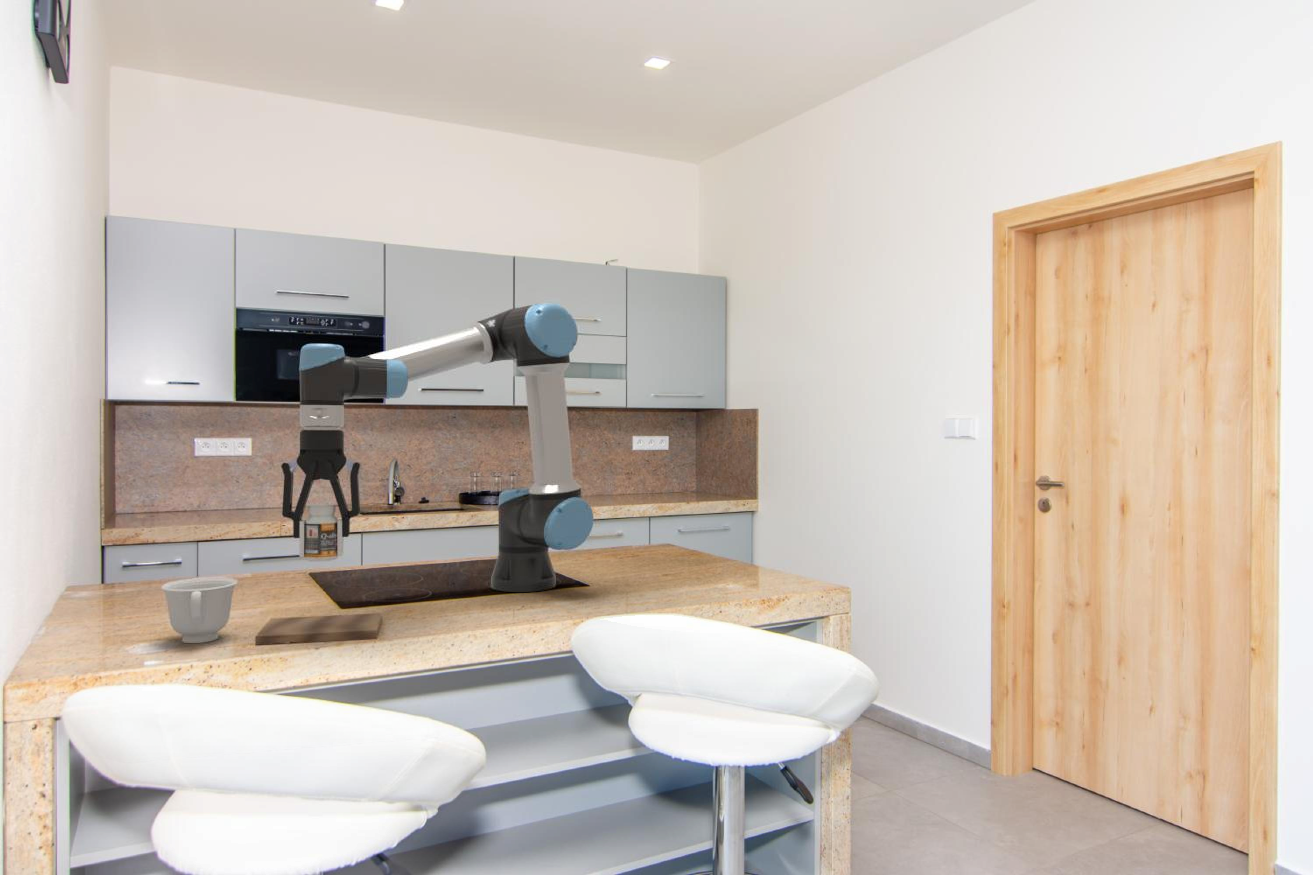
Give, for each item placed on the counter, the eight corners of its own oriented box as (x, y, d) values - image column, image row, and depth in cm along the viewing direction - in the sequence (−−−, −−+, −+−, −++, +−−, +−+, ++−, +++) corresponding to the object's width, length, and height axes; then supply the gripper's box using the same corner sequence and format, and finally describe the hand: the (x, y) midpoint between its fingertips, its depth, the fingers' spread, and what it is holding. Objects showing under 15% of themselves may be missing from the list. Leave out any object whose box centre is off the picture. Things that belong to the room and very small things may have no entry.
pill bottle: (326, 562, 154) (326, 507, 154) (298, 561, 155) (298, 506, 155) (344, 557, 160) (344, 504, 159) (316, 556, 161) (316, 503, 161)
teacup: (154, 655, 142) (154, 595, 141) (165, 634, 155) (165, 579, 155) (235, 648, 146) (235, 589, 146) (239, 628, 160) (239, 575, 160)
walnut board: (381, 620, 167) (381, 613, 167) (376, 638, 153) (376, 630, 153) (270, 626, 162) (270, 618, 162) (255, 645, 148) (255, 636, 148)
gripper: (262, 428, 151) (262, 560, 151) (374, 429, 156) (373, 556, 156) (270, 428, 158) (270, 553, 159) (377, 429, 163) (376, 550, 163)
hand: (321, 555), depth 157 cm, fingers closed on pill bottle, 6 cm apart
